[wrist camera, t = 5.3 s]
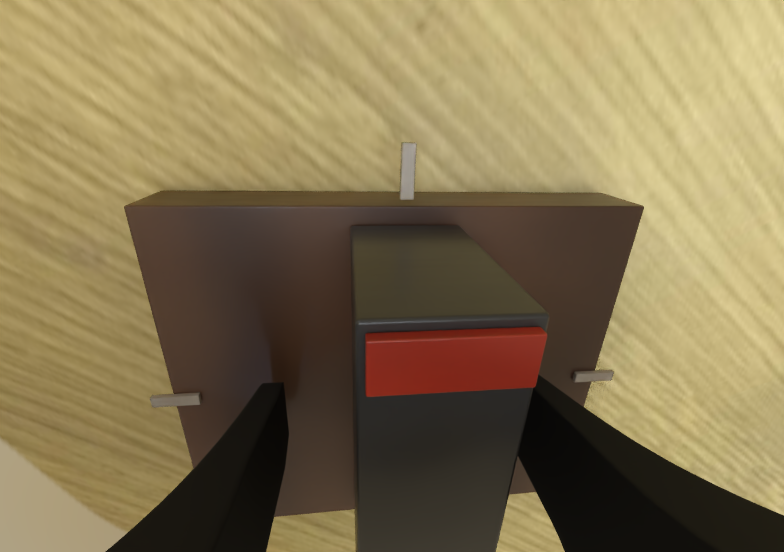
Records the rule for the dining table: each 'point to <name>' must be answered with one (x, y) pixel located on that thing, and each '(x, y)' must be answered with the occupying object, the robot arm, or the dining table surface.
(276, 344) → the brown pegged board
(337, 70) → the dining table surface
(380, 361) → the gray bar
